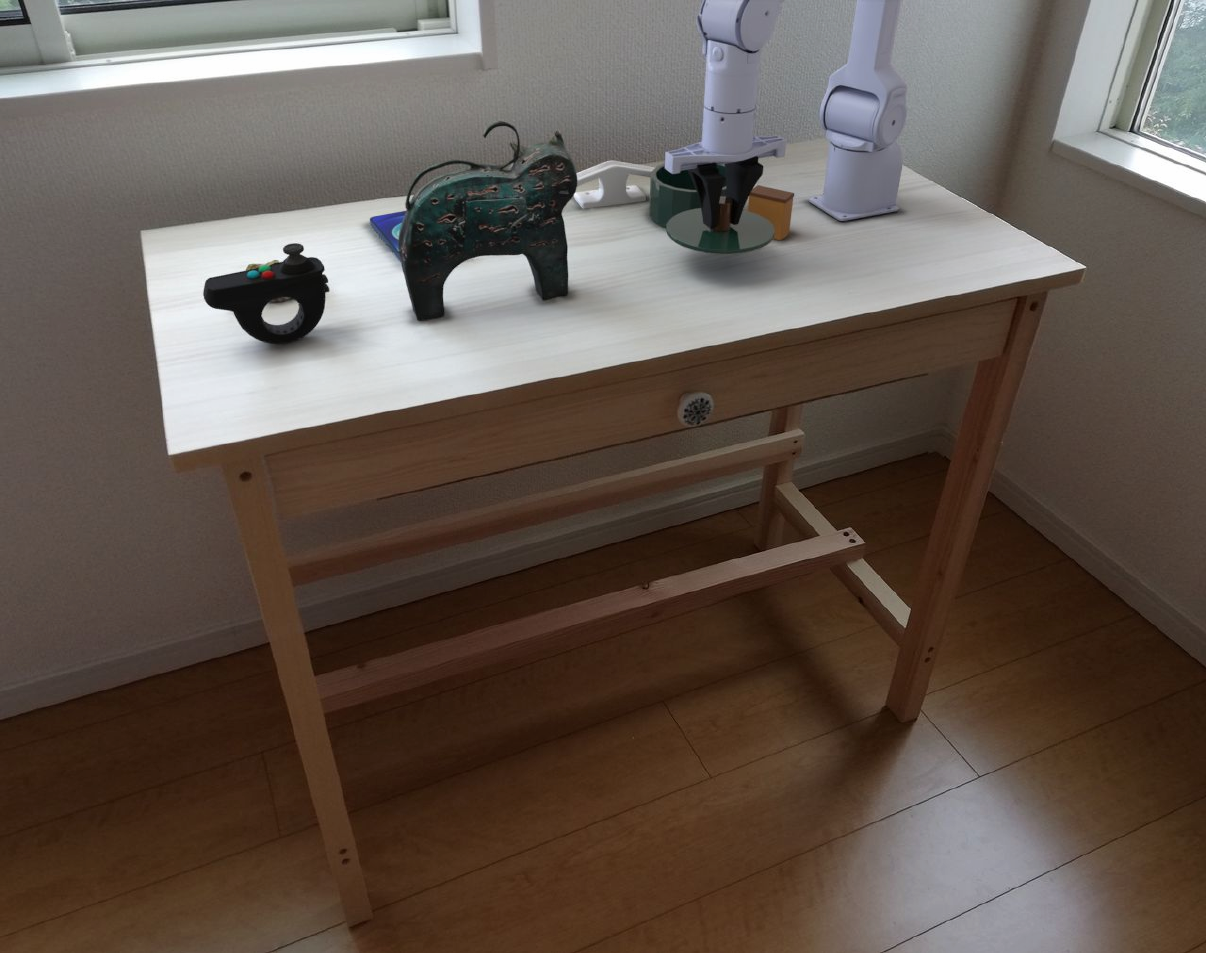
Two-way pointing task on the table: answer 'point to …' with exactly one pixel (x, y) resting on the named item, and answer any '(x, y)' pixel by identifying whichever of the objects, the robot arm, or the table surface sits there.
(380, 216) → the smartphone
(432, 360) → the table surface
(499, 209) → the ceramic cat
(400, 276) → the table surface
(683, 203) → the pot
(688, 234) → the lid
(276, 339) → the controller
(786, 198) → the brown block
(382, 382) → the table surface
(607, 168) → the mooring cleat
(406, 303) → the table surface
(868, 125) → the robot arm
